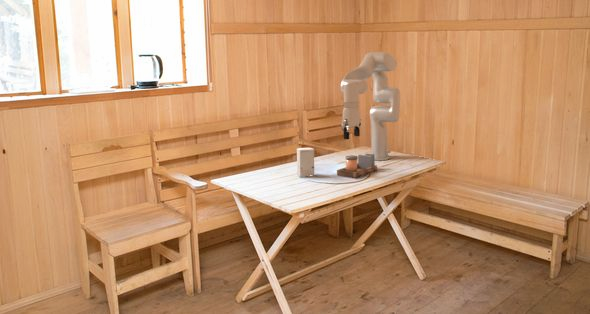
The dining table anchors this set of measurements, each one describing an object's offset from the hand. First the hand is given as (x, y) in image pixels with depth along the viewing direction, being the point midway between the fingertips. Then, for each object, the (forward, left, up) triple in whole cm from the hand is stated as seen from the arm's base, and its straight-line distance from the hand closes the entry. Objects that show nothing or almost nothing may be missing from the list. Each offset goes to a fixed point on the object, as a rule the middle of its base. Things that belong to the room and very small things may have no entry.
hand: (351, 137), depth 295 cm
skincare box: (+15, -20, -20) cm, 32 cm away
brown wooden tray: (-4, 0, -20) cm, 21 cm away
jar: (+1, 0, -19) cm, 19 cm away
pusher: (-14, 0, -19) cm, 24 cm away
